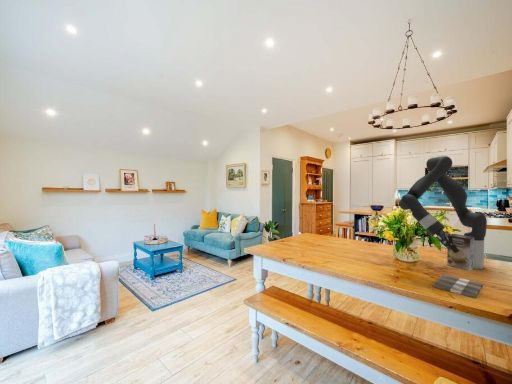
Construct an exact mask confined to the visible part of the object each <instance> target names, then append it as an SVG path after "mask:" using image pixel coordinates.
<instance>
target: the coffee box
mask: <svg viewBox="0 0 512 384" xmlns="http://www.w3.org/2000/svg"><path fill="white" fill-rule="evenodd" d="M448 238H449V239H450V242H451V243H452V244H453V245H454V246H455V247H456V248H457V249H458V250H459V252H457V253H454V252H453V251H452V250H451V249H450V248H449V247H447V252H446V253H447V255H446V256H447V257H446V259H447V261H446V266H447V267H450V268H454V269H458V270H461V271H467V272H470V271H472V270H473V269H474V268H473V261H474V237H470V236H464V234H463V235H462V234H457V233H450V235H448Z"/></svg>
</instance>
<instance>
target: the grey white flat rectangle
mask: <svg viewBox="0 0 512 384" xmlns="http://www.w3.org/2000/svg"><path fill="white" fill-rule="evenodd" d="M483 286H484V283H482V282H478V281H474V280H470V279H466V278H465V279H464V278H462V277H461V278H460V277H456V276H452V275H448V274H442V275H441V276H440V277H438V279H437V280H436V281H435V282H434V283H433V284H432V288H437V289H440V290H442V291H446V292H447V291H448V292H449V293H451V292H452V293H455V294H459V295H461V296H465V297H469V298H473V299H476V298H477V296H478V295H479V293H480V291H481V289H482V288H483Z"/></svg>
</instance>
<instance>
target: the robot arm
mask: <svg viewBox="0 0 512 384" xmlns="http://www.w3.org/2000/svg"><path fill="white" fill-rule="evenodd" d="M425 163H426V169H427V170H428V173H426V174H425V175H424V176H422V177H420V178H419V179H418V180H417V181H415V183H414V184H413V185H412V186H411V187H410V188H409V190H408V192H407V193H406V194H404V195H403V196H402V197H401V199H400V200H399V204H398V206H399V207H400V209H402V210H405V211H406V210H410V212H411V216H412V217H413V218H414V219H415V220H416V221H417V222H418V223H419V224H420V225H421V227H422V228H424V229H425V230H426V232H428V233H429V234H430V236H435V235H436V236H435V239H436V240H438V241H439V242H440V243H441V244H442V245H443V246H444V247H446V248H448V247H449V248H450V249H451V250H452V251H453V252H454V253H457V252H459V250H458V249H457V248H456V247H455V246H454V245H453V244H452V243H451V242H450V239H449V238H448V235H450V234H451V233H450V232H449V231H447V230H446V231H444V229H446V226H445V225H444V224H442V222H440V221H439V220H438V219H437V218H436V217H435V216H434V215H432V214H431V213H430V212H429V211H428V210H427V209H425V208H424V206H423V205H422V203H421V202H420V201H419V199H420V198H421V197H422V196H423V195H424V194H425V193H426V192H427V191H428V189H429V188H430V187H431V186H432V185H433V184H434V183H435V182H437V183H438V185H439V187H440V188H441V190H442V191H443V193H444V194H445V196H446V198H447V199H448V201H449V202H450V204H451V205H452V207H453V209H454V211H455V213H456V215H457V218H458V220H459V222H460V223H461V225H463V226H464V227H466V228H471V231H470V232H465V233H464V234H463V235H464V236H470V237H474V261H473V269H476V270H483V269H484V268H485V237H486V234H487V224H488V219H487V216H486V215H485V214H483V213H480V212H479V213H477V212H471V211H470V210H469V209H468V207H467V199H468V193H467V192H466V190H465V188H464V187H463V186H462V184H461V183H459V182H458V181H457V180H455V179H453V178H451V176H449V175H448V174H447V172H449V171H450V170H451V168H452V166H453V160H452V158H451V157H450V156H447V155H443V156H435V157H430V158H428V159H427V161H426V162H425Z"/></svg>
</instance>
